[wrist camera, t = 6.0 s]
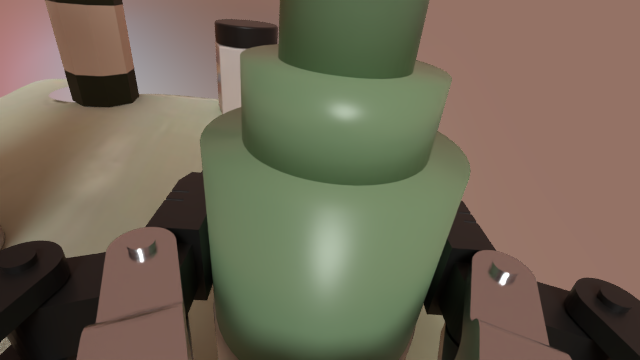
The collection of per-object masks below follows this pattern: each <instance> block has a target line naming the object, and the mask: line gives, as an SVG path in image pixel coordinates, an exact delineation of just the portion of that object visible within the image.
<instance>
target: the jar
mask: <svg viewBox="0 0 640 360" xmlns="http://www.w3.org/2000/svg"><path fill="white" fill-rule="evenodd" d="M277 36H278V27H277V26H276V25H274V24H270V23H265V22H258V21H250V20H235V19H234V20H233V19H224V20H223V19H222V20H216V21H215V37H216V41H215V47H216V62H217V79H218V96H219V107H220V110H221V112H222V114H224V113H226V112H228V111H231V110H234V109H236V108H240V107H241V78H240V54H241V52H242V51H244V50H246V49H249V48H252V47H257V46H263V45H275V44H277V38H278V37H277Z"/></svg>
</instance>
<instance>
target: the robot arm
mask: <svg viewBox="0 0 640 360" xmlns="http://www.w3.org/2000/svg"><path fill="white" fill-rule="evenodd" d="M4 236H5V234H4V232H3V230H2V228H1V226H0V250H1V248H2V246H3V244H4ZM212 285H213V277H212V266H211V255H210V244H209V233H208V222H207V211H206V201H205V190H204V179H203V170H202V172H201V173H197V172H192V173H190V174H188V175H187V176H185V177H183V178H182V179H180V180H179V181H178V182H177V184H176V185H175V187H174V188H173V189H172V192H170V193H169V195H168V196H167V198H166V200H164V202H163V203H162V205H161V206H160V207H159V209H158V210H157V211H156V213H155V214H154V216H153V217H152V218H151V220H150V221H149V223H148V224H147V225H146V227H144V228H139V229H135V230H132V231H129V232H127V233H125V234H123V235H121V236H119V237H118V238H116V239H115V240H114V241H113V242H112V243H111V244H110V245H109V247H108V248H107V251H106V252H103V253H98V254H91V255H85V256H78V257H71V258H65V255H64V252H63V250H62V248H61V247H60V246H59V245H58V244H56V243H54V242H50V241H31V242H25V243H21V244H17V245H14V246H11V247H9V248H6V249H4V250H2V251H0V342H1V341H2V340H3V339H4V338H5V337H6V336H7V338H8V339H9V341H10V343H11V345H10V346H9V347H8V348H7V349H6V350H5V351H4V352H3V353H2V354H1V355H0V360H194V358H193V350H192V341H191V333H190V325H189V317H188V312H189V310H190V307H191V305H192V302H193V300H207V299H208V296H209V293H210V290H211V287H212ZM424 306H425V309H426V312H427V314H433V315H443V318H444V320H445V323H444V326H443V328H442V330H441V335H440V343H439V351H438V359H437V360H640V301H639V300H638V299H637V298H635V297H634V296H633V295H631V294H630V293H628V292H627V291H625V290H623V289H621V288H620V287H618V286H616V285H614V284H611V283H609V282H606V281H603V280H599V279H595V278H582V279H579V280H578V281H577V282H576V283H575V285H574V286H573V288H572V290H571V291H567V290H563V289H560V288H557V287H553V286H549V285H546V284H543V283H540V282H537V281H536V278H535V276H534V274H533V273H532V271H531V270H530V269H529V268H528V267H527V266H526V265H524V264H523V263H522V262H521V261H519V260H518V259H516V258H514V257H512V256H510V255H507V254H505V253H502V252H499V251H496V250H495V248H494V247H493V245H492V244H491V242H490V241H489V239H488V238H487V236H486V235H485V233H484V232H483V231H482V229H481V228H480V226H479V225H478V224H477V223H476V220H475V219H474V217H473V216H472V215H470V211H469V210H468V208H467V207H466V205H465V204H464V202H463V201H461V202H460V205H459V207H458V210H457V213H456V216H455V218H454V221H453V224H452V227H451V229H450V232H449V235H448V237H447V240H446V243H445V246H444V248H443V251H442V254H441V257H440V259H439V262H438V265H437V268H436V270H435V273H434V276H433V278H432V281H431V284H430V287H429V289H428V292H427V295H426V298H425V300H424Z"/></svg>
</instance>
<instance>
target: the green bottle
mask: <svg viewBox="0 0 640 360" xmlns="http://www.w3.org/2000/svg"><path fill="white" fill-rule="evenodd" d="M428 4H429V0H280V15H279V16H280V17H279V44H275V45H263V46H257V47H252V48H249V49H246V50H244V51H242V52H241V54H240V78H241V107H240V108H236V109H234V110H231V111H228V112H226V113H224V114H222V115H220V116H219V117H217V118H216V119H214V120H213V121H211V122H210V123H209V124H208V125H207V126H206V128H205V129H204V131H203V132H202V135H201V139H200V146H201V157H202V168H203V179H204V190H205V201H206V211H207V222H208V233H209V244H210V255H211V266H212V277H213V287H214V305H213V309H214V321H215V331H216V341H217V352H218V360H405V358H406V355H407V353H408V350H409V347H410V345H411V342H412V339H413V335H414V331H415V325H416V322H417V319H418V317H419V314H420V311H421V309H422V306H423V303H424V300H425V298H426V295H427V292H428V289H429V287H430V284H431V281H432V278H433V276H434V273H435V270H436V268H437V265H438V262H439V259H440V257H441V254H442V251H443V248H444V246H445V243H446V240H447V237H448V235H449V232H450V229H451V227H452V224H453V221H454V218H455V216H456V213H457V210H458V207H459V205H460V202H461V199H462V196H463V193H464V191H465V188H466V185H467V183H468V180H469V176H470V165H469V162H468V160H467V157H466V156H465V154H464V153H463V151H462V150H461V149H460V148H459V147H458V146H457V145H456V144H455V143H454V142H453V141H451V140H450V139H449V138H448V137H446V136H445V135H443V134H441V133H440V132H438V131H437V130H438V127H439V123H440V120H441V116H442V113H443V109H444V106H445V102H446V99H447V95H448V92H449V89H450V85H451V81H452V78H451V76H450V75H449V74H448V73H447V72H445V71H443V70H442V69H440V68H437V67H435V66H433V65H430V64H427V63H424V62H420V61H418V60H416V57H417V52H418V48H419V44H420V39H421V35H422V30H423V26H424V22H425V18H426V13H427V9H428Z"/></svg>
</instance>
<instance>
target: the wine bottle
mask: <svg viewBox="0 0 640 360" xmlns="http://www.w3.org/2000/svg"><path fill="white" fill-rule="evenodd" d="M45 2H46V6H47V9H48V13H49V17H50V20H51V24H52V27H53V31H54V35H55V38H56V42H57V45H58V49H59V52H60V56H61V60H62V63H63V67H64V70H65V74H66V78H67V81H68V85H69V88H70V92H71V95H72V99H73V101H75V102H77V103H79V104H81V105H83V106H94V107H113V106H118V105H123V104H128V103H133V102H134V101H135V100H136V99H137V98H138V97H139V93H138V88H137V82H136V76H135V71H134V65H133V59H132V54H131V48H130V43H129V37H128V31H127V26H126V21H125V15H124V9H123V3H122V0H45Z"/></svg>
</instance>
